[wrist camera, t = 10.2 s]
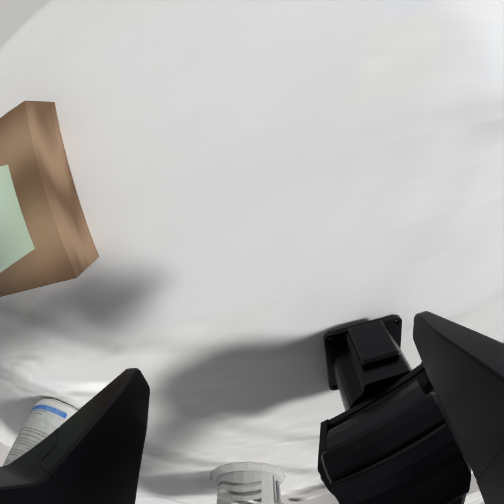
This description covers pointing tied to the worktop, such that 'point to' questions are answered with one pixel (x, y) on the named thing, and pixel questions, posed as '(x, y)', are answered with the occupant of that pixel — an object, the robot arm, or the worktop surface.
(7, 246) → the sage cube
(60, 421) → the supplement tub
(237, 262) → the worktop surface
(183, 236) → the worktop surface
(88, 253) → the walnut block
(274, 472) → the french press
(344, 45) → the worktop surface
